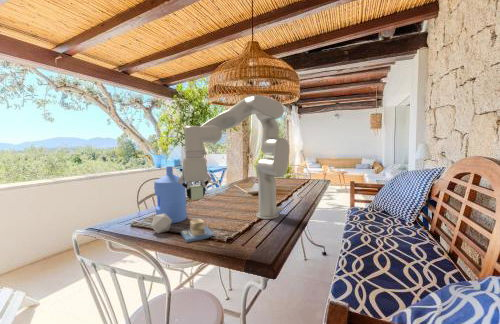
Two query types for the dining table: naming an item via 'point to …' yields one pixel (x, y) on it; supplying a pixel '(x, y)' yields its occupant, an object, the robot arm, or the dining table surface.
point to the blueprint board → (189, 237)
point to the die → (161, 223)
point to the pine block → (197, 226)
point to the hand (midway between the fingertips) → (195, 196)
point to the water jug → (171, 197)
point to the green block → (196, 192)
